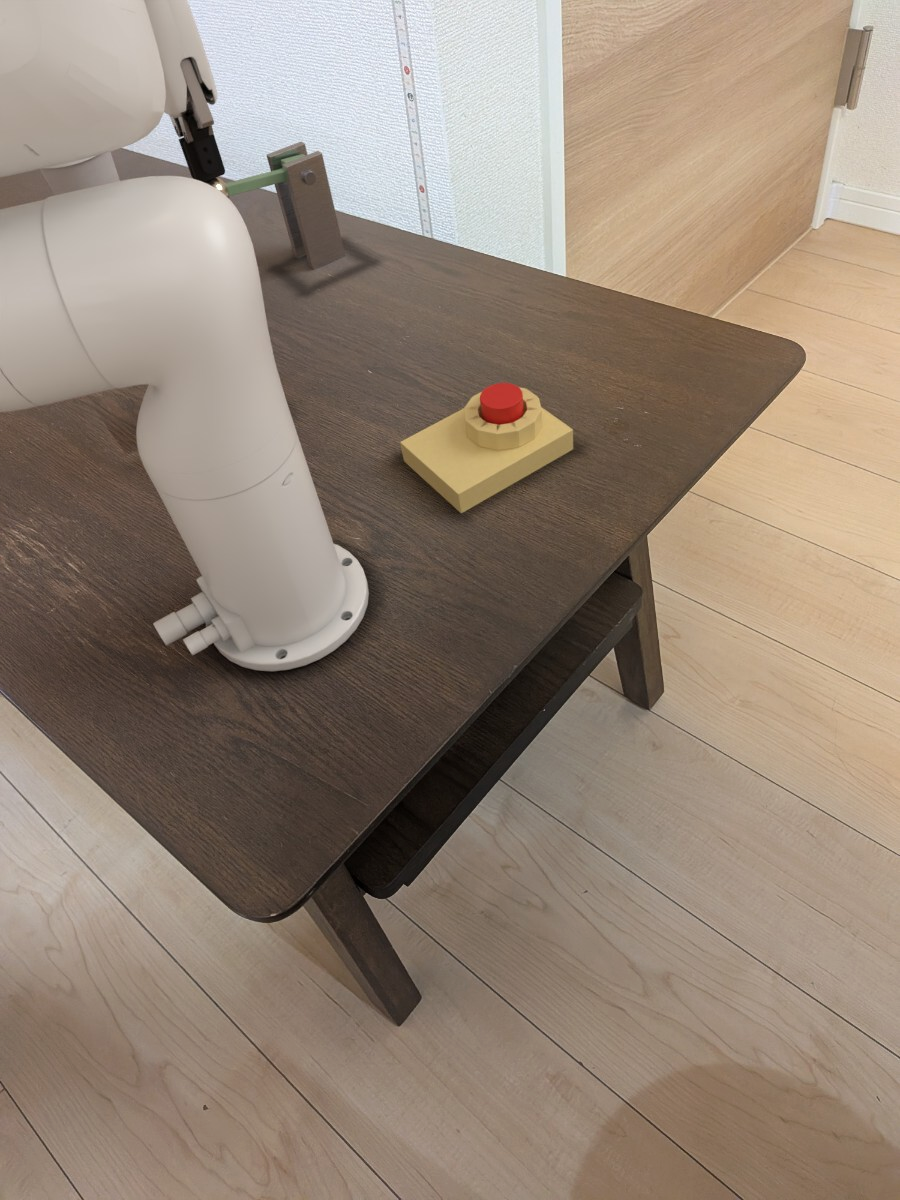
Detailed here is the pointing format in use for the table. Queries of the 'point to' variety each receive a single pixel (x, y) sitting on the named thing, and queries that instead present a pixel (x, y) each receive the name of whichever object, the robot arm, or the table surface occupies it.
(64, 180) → the coffee cup
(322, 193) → the bracket
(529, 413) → the button box
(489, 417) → the button
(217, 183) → the lever
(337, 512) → the table surface
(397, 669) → the table surface
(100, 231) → the robot arm
